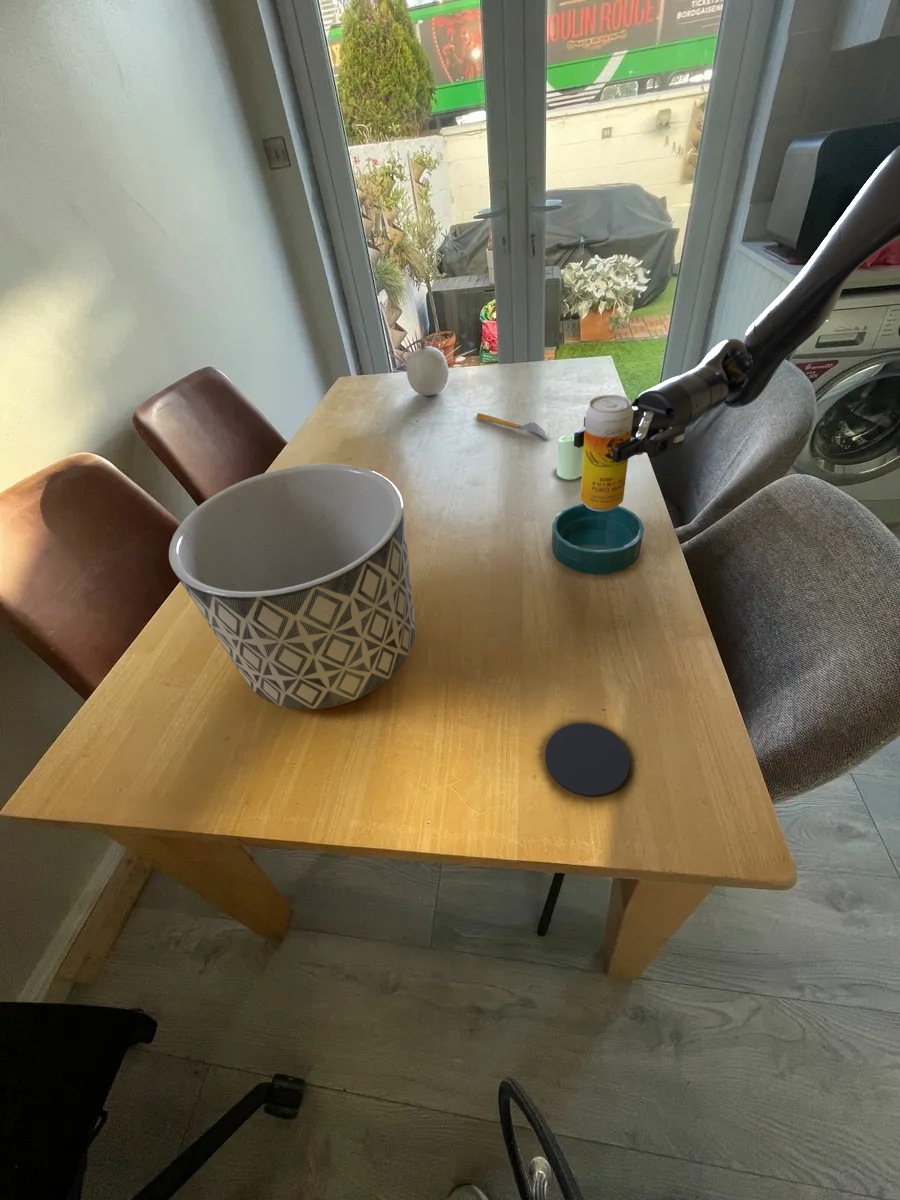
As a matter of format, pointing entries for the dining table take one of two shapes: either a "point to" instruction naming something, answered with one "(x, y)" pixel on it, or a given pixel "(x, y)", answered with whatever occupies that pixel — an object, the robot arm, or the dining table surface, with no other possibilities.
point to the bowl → (597, 539)
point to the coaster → (587, 759)
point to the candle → (569, 458)
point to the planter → (303, 581)
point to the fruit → (427, 369)
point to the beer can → (605, 451)
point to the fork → (528, 426)
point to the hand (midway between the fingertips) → (595, 447)
